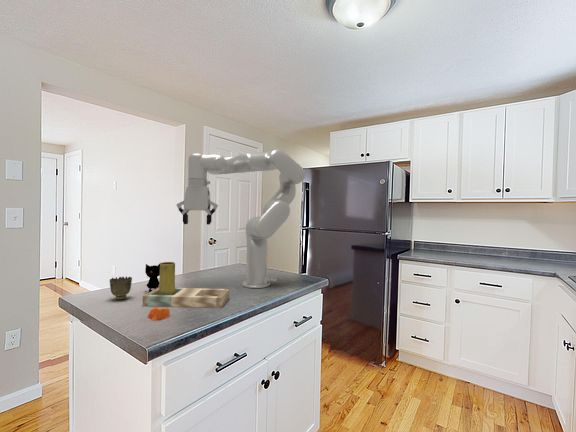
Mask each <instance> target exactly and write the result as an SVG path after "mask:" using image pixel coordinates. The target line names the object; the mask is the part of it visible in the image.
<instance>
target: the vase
mask: <svg viewBox="0 0 576 432" xmlns="http://www.w3.org/2000/svg"><path fill="white" fill-rule="evenodd" d="M159 264H160V276H159V278H158V280H159V295H175V288H176V283H175V282H176V263H175V262H174V261H165V262H159Z"/></svg>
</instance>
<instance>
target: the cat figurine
mask: <svg viewBox="0 0 576 432" xmlns="http://www.w3.org/2000/svg"><path fill="white" fill-rule="evenodd" d="M144 272H145V275H146V278H149V280H148V282H147V284H146V287H147V288H148V292H147V293H149V292H151V291H153V290H155V289H156V288H158V287H159V278H158V277H160V263H159V264H157V265H155V264H154V265H149V264H147V263H146V264H145V271H144Z"/></svg>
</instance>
